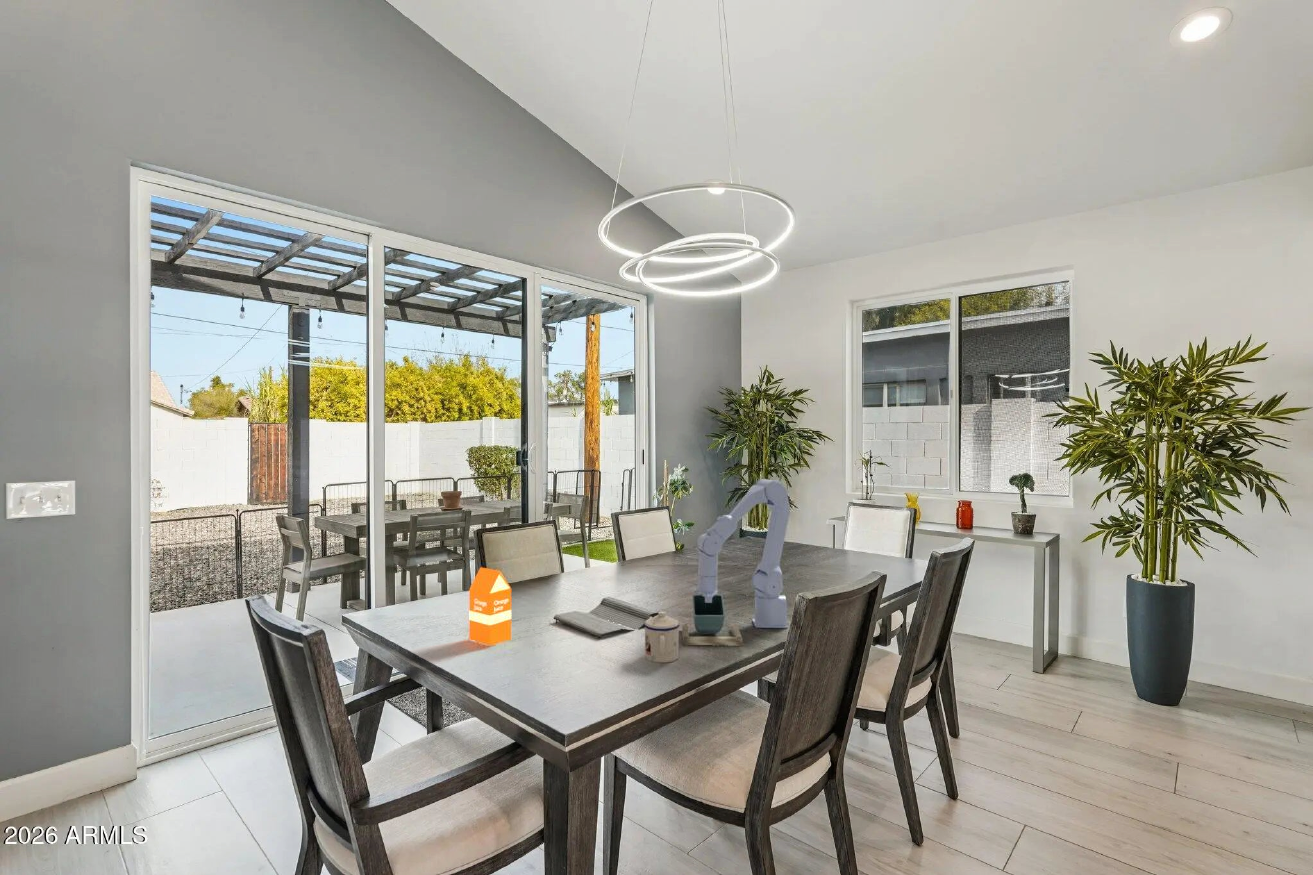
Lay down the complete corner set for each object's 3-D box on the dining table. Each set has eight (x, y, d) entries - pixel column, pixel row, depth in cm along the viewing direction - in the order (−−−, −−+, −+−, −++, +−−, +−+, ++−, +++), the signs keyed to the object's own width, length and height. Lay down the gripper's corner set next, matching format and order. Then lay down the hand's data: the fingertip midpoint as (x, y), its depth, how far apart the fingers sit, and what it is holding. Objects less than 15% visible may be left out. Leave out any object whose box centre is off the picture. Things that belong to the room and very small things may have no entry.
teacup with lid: (644, 651, 165) (644, 607, 165) (678, 651, 165) (678, 607, 165) (643, 667, 153) (643, 620, 153) (680, 667, 153) (680, 620, 153)
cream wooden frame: (736, 630, 183) (736, 623, 183) (742, 645, 169) (742, 638, 169) (682, 630, 183) (682, 623, 183) (683, 645, 169) (683, 638, 169)
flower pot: (721, 616, 185) (722, 593, 180) (724, 639, 177) (725, 615, 173) (692, 617, 185) (692, 594, 180) (693, 639, 177) (693, 616, 173)
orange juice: (491, 634, 179) (491, 565, 179) (511, 639, 174) (511, 568, 174) (468, 641, 172) (468, 569, 173) (489, 647, 167) (489, 573, 167)
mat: (552, 624, 190) (552, 609, 190) (611, 610, 206) (611, 595, 206) (599, 642, 173) (600, 625, 173) (660, 625, 190) (660, 609, 190)
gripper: (693, 569, 191) (691, 613, 191) (695, 579, 176) (693, 627, 176) (716, 570, 190) (714, 614, 190) (720, 580, 176) (718, 628, 176)
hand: (706, 620), depth 183 cm, fingers closed, pressing on flower pot
